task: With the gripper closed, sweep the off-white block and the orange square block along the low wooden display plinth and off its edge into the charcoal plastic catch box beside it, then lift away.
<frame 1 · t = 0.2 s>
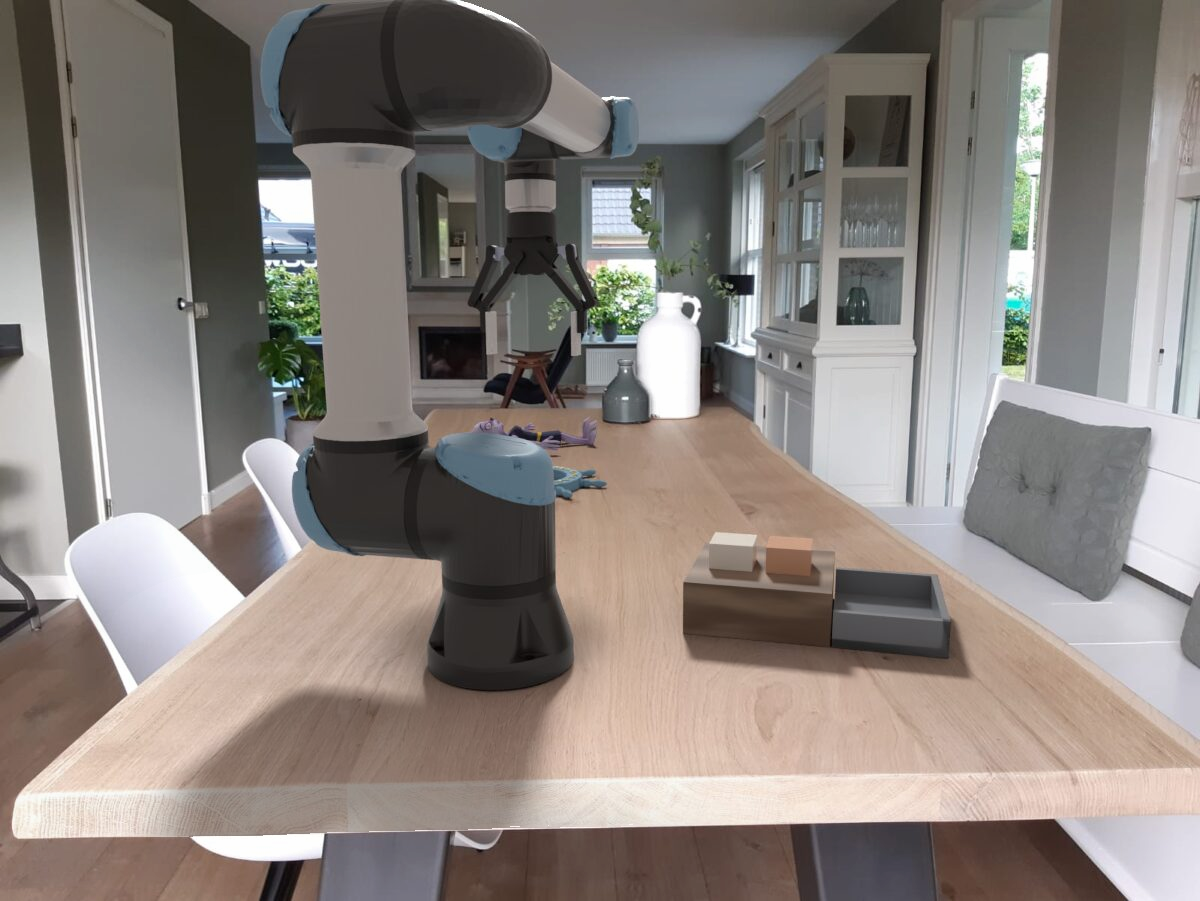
hand: (533, 354, 140), 28 cm above the table, tool pointing down, fingers open, 13 cm apart
decorative ship wheel: (531, 488, 178), on the table
toy: (532, 448, 220), on the table
off-white block: (733, 563, 108), point 6 cm above the table, touching wooden display plinth
catch box: (886, 625, 105), on the table
orange square block: (789, 567, 106), point 6 cm above the table, touching wooden display plinth
wooden display plinth: (761, 614, 108), on the table
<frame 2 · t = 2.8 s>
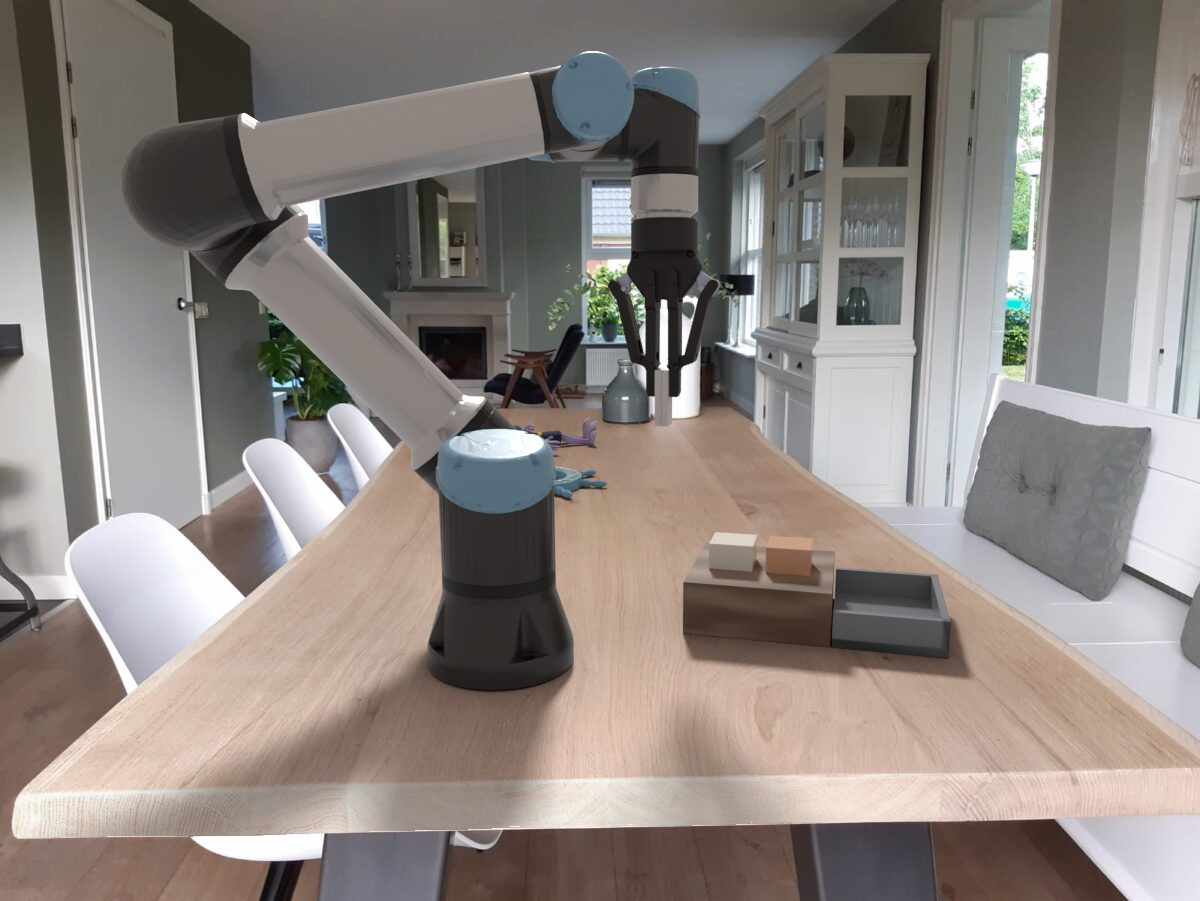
hand: (663, 424, 107), 22 cm above the table, tool pointing down, fingers closed
nothing on the table moved.
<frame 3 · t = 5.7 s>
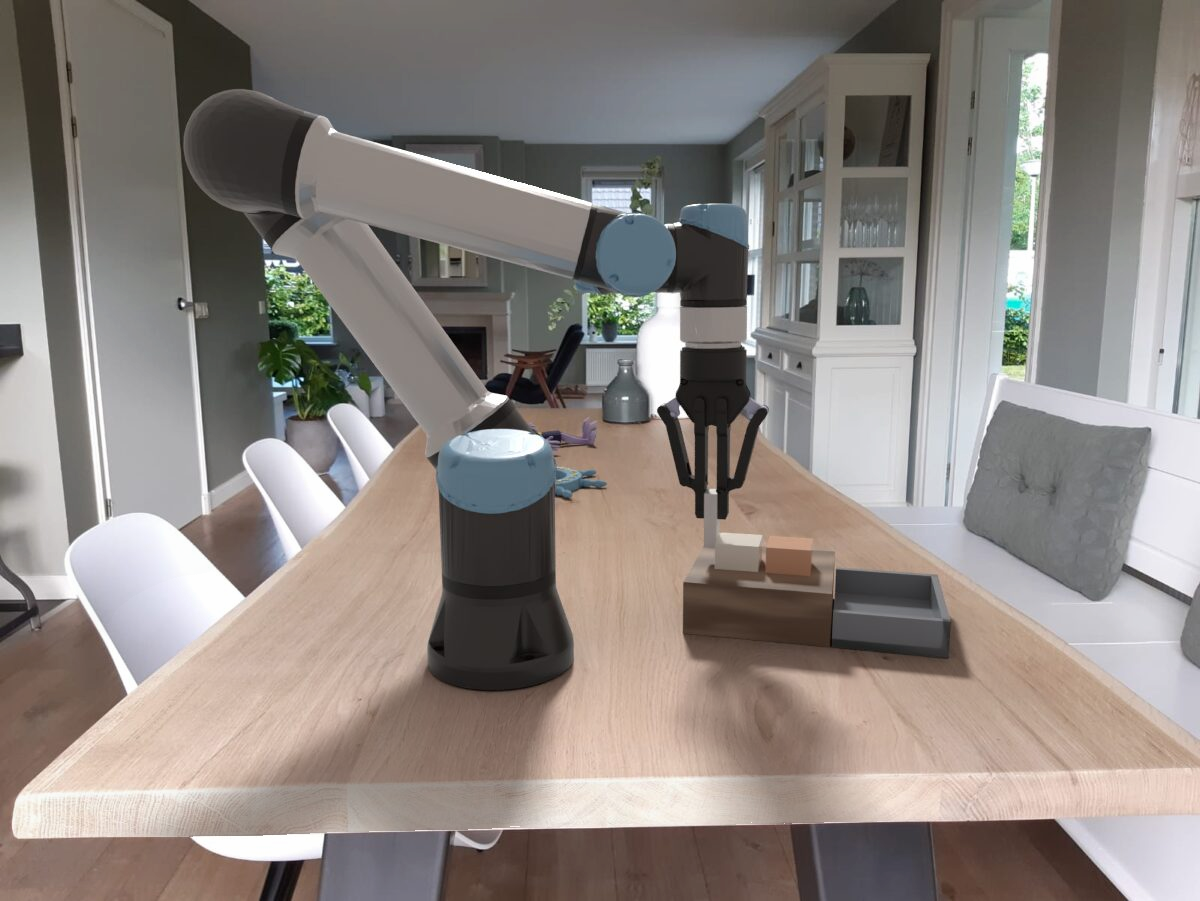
hand: (711, 544, 108), 8 cm above the table, tool pointing down, fingers closed
nothing on the table moved.
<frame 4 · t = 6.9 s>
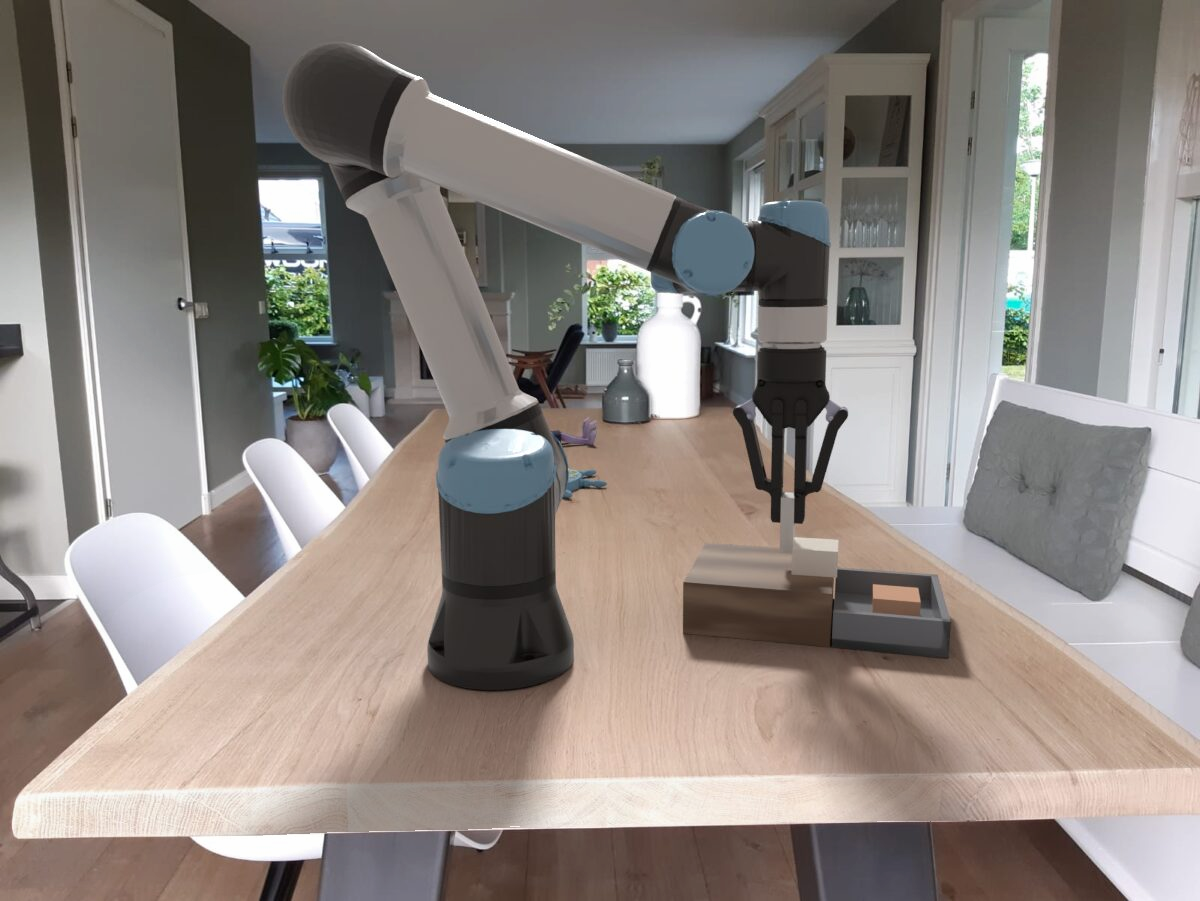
hand: (787, 549, 106), 8 cm above the table, tool pointing down, fingers closed
off-white block: (814, 569, 106), point 6 cm above the table, touching gripper
orange square block: (896, 593, 103), point 4 cm above the table, tilted 180°, touching catch box
everything else where it was.
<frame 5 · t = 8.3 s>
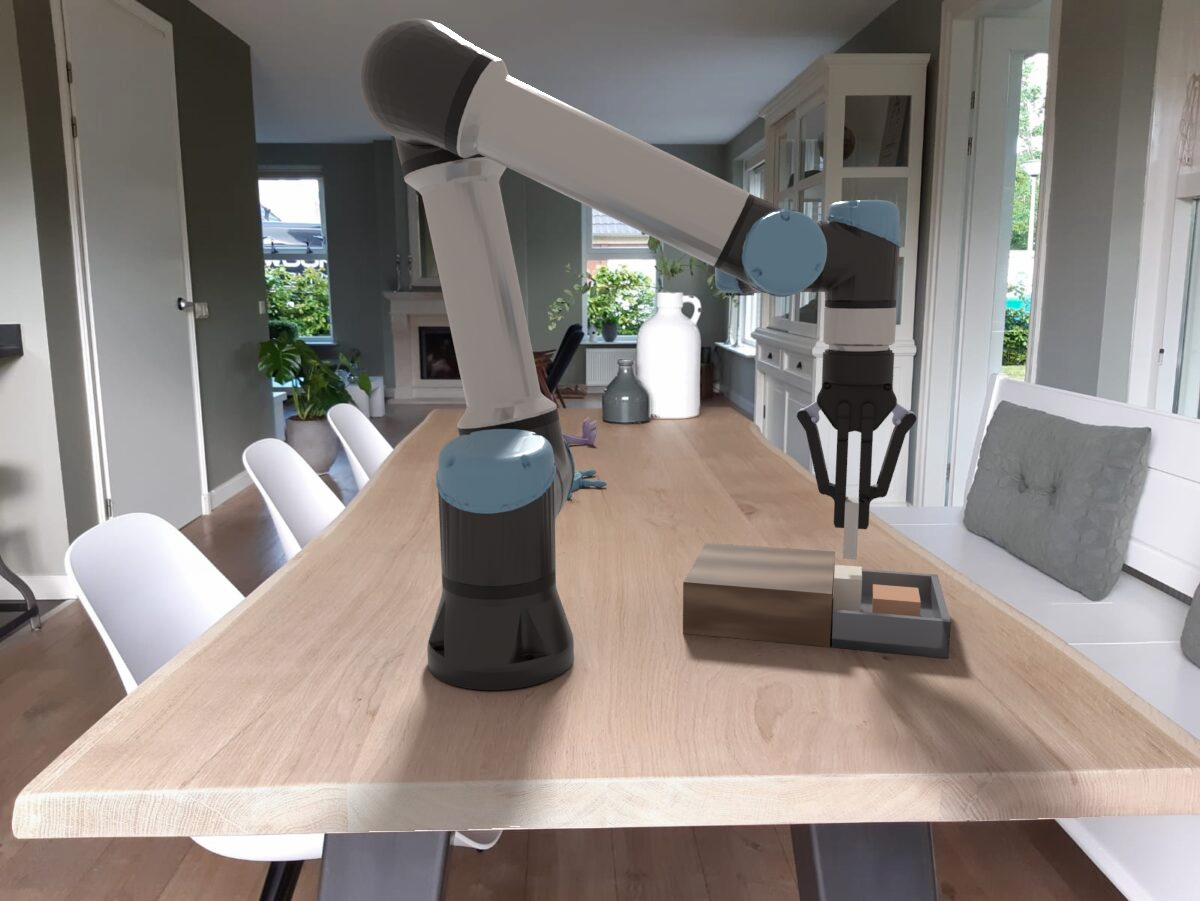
hand: (849, 555, 104), 8 cm above the table, tool pointing down, fingers closed
off-white block: (833, 592, 105), point 3 cm above the table, tilted 90°, touching catch box
everything else where it was.
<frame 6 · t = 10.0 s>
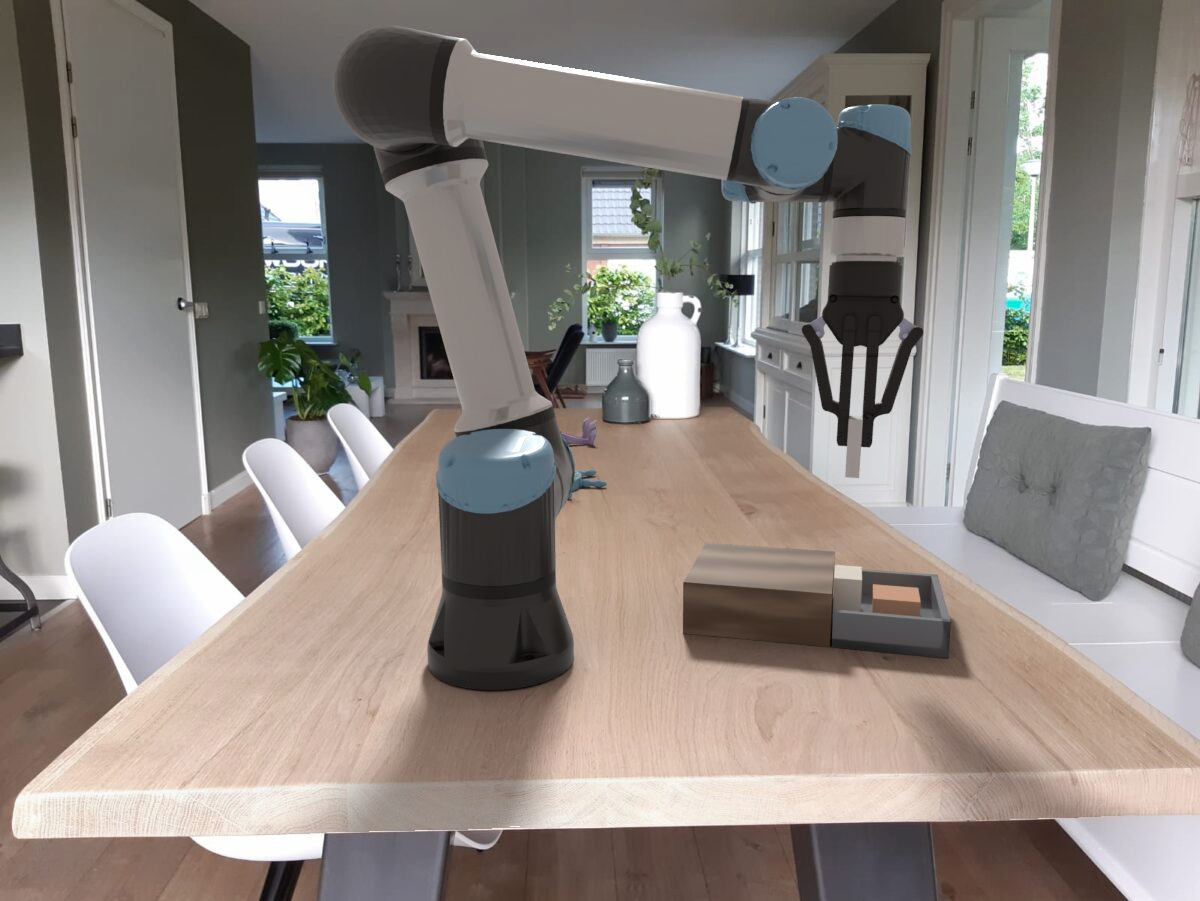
hand: (852, 475, 102), 17 cm above the table, tool pointing down, fingers closed
nothing on the table moved.
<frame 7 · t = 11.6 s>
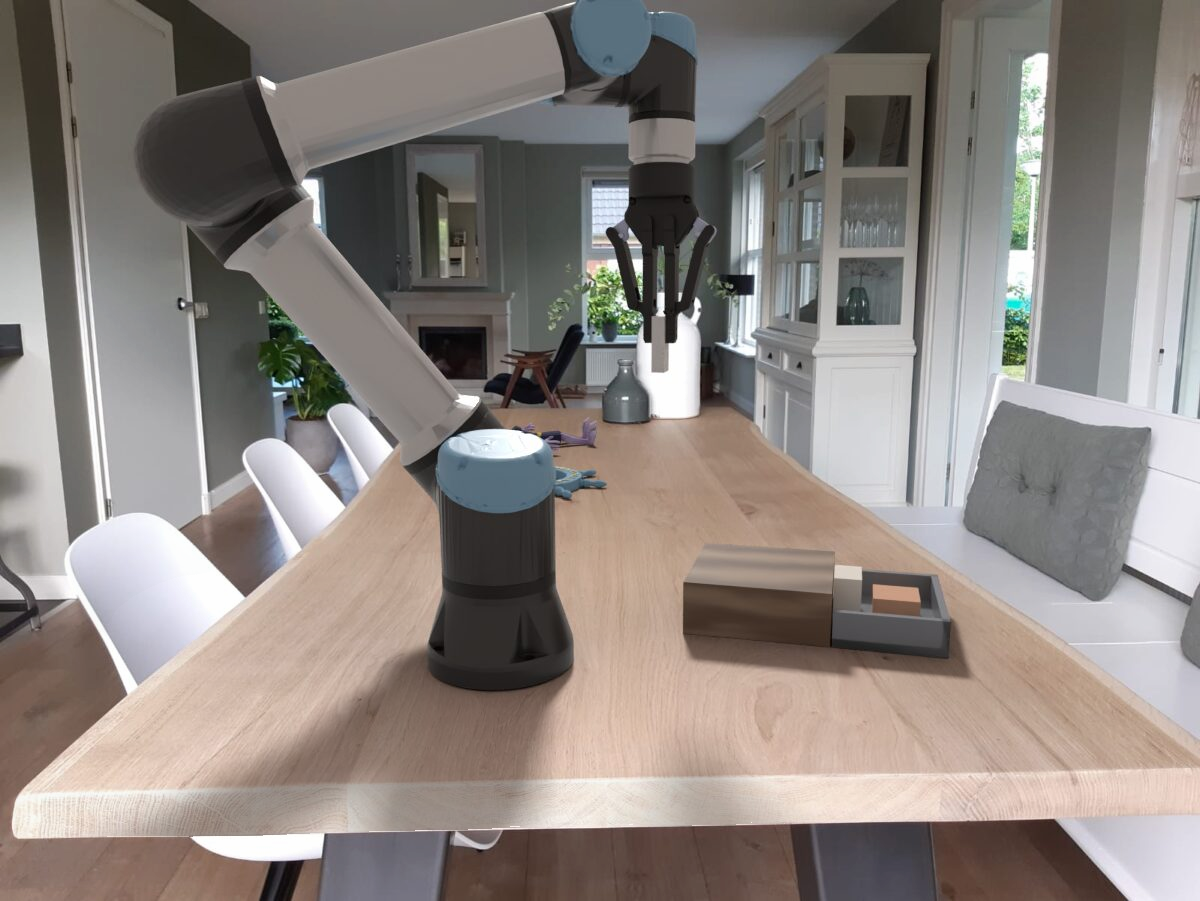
hand: (660, 371, 108), 28 cm above the table, tool pointing down, fingers closed
nothing on the table moved.
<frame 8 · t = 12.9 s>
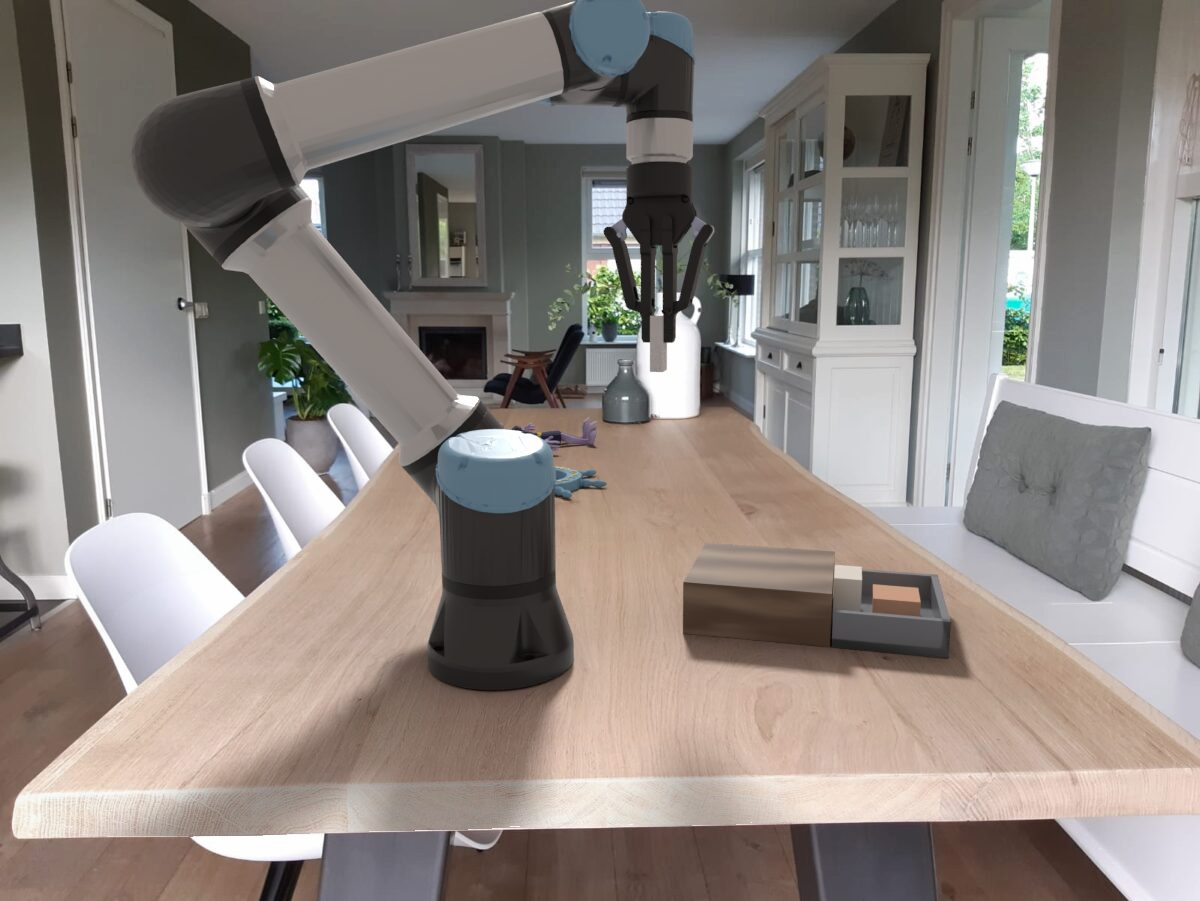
hand: (658, 370, 108), 28 cm above the table, tool pointing down, fingers closed
nothing on the table moved.
at the end: off-white block inside the target area (6.1 cm from its centre), point 3.5 cm above the table; orange square block inside the target area (0.7 cm from its centre), point 4.0 cm above the table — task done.
